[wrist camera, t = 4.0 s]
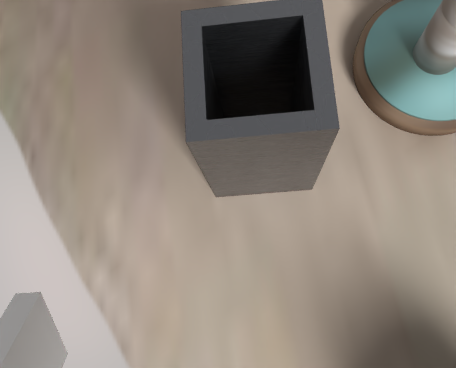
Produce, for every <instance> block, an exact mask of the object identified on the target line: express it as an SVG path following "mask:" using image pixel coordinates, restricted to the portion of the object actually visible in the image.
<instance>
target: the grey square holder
mask: <svg viewBox="0 0 456 368" xmlns="http://www.w3.org/2000/svg"><path fill="white" fill-rule="evenodd" d="M181 25H182V51H183V77H184V103H185V128H186V143H187V145H188V147H189V149H190V150H191V152H192V154H193V156H194V158H195V159H196V161H197V163H198V165H199V167H200V168H201V170H202V172H203V174H204V176H205V178H206V179H207V181H208V183H209V185H210V187H211V188H212V190H213V192H214V194H215V196H216V197H224V196H236V195H249V194H261V193H274V192H287V191H299V190H312V188H313V186H314V184H315V182H316V179H317V177H318V175H319V173H320V171H321V168H322V166H323V164H324V162H325V160H326V157H327V155H328V153H329V151H330V148H331V146H332V144H333V142H334V140H335V137H336V135H337V133H338V131H339V129H340V128H339V121H338V114H337V106H336V99H335V91H334V84H333V77H332V69H331V62H330V55H329V47H328V40H327V32H326V25H325V18H324V10H323V3H322V0H275V1H266V2H258V3H249V4H240V5H231V6H222V7H213V8H204V9H195V10H186V11H181Z"/></svg>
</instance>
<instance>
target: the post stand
mask: <svg viewBox="0 0 456 368" xmlns="http://www.w3.org/2000/svg"><path fill="white" fill-rule="evenodd" d="M353 75H354V79H355V84H356V86H357V89H358V91H359V93H360V95H361V97H362V99H363V100H364V102H365V103H366V104H367V106H368V107H369V108H370V109H371V110H372V111H373V112H374V113H375V114H376V115H377V116H379V117H380V118H381V119H382V120H384V121H385V122H387V123H389V124H390V125H392V126H394V127H396V128H398V129H401V130H404V131H407V132H410V133H414V134H419V135H429V136H433V135H446V134H452V133H455V132H456V0H393V1H391V2H389V3H388V4H386V5H385V6H383V7H382V8H381V9H379V10H378V11H377V12H376V13H375V14H374V15H373V16H372V17H371V18H370V20H369V21H368V22H367V24H366V25H365V27H364V29H363V31H362V33H361V36H360V38H359V41H358V44H357V46H356V49H355V53H354V58H353Z"/></svg>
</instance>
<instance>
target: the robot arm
mask: <svg viewBox="0 0 456 368" xmlns="http://www.w3.org/2000/svg"><path fill="white" fill-rule="evenodd" d="M67 354H68V353H67V351H66V348H65V346H64V344H63V342H62V339H61V337H60V335H59V332H58V330H57V328H56V326H55V324H54V321H53V319H52V317H51V314H50V312H49V310H48V308H47V305H46V303H45V301H44V299H43V297H42V294H41V292H35V293H20V294H15V296H14V297H13V299H12V300H11V302H10V304H9V305H8V307H7V309H6V310H5V312H4V313H3V315H2V317H1V318H0V368H62V367H63V364H64V362H65V359H66V357H67Z"/></svg>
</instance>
